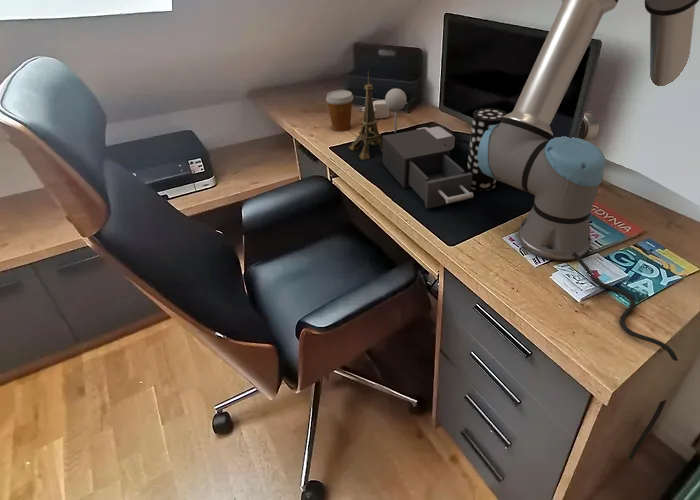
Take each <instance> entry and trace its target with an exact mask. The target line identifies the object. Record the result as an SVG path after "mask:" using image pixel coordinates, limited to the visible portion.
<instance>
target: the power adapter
mask: <svg viewBox="0 0 700 500" xmlns="http://www.w3.org/2000/svg"><path fill="white" fill-rule="evenodd" d="M373 108H374V114H375V120H377V119H387V118H389V117H390V109H389V108H388V107H387V106H386V103H385V99H380V100H373ZM364 110H365V106H359V107H358V112H359V113H362V112H363V113H364Z"/></svg>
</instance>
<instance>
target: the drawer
mask: <svg viewBox="0 0 700 500" xmlns="http://www.w3.org/2000/svg"><path fill="white" fill-rule="evenodd" d="M472 176H473V174H472V173H471V172H470V173H467V172H466V170H464V168H462V167H461V166H460V165H459V164H458V163H456V162H455V161H454V160H453V159H452V158H451V157H450V158H449V157H448V156H447V155H446V154H440V155H435V156H430V157H425V158H420V159H415V160H409V161H407V183H408V184H409V185H410V186H411V187H410V188H412V190H413V191H414V192H415V193H416V194H417V195H418V196H419V198H420V199H421V200H422V201H423V202H424V207H425V208H426V209H430V208H435V207H440V206H445V205H449V204H453V203H459V202H462V201H466V200H470V199H473V198H474V193H473V191H472V189H471V183H472Z"/></svg>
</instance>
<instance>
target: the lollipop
mask: <svg viewBox="0 0 700 500" xmlns="http://www.w3.org/2000/svg"><path fill="white" fill-rule="evenodd" d="M384 100H385V103H386V106H387V107H388V108H389V111H390V110H391V111H392V112H394V123H393V124H394V134H396V133H397V121H398V120H397V116H398V115H397V113H398V111H401V110H402V109H403V108H404V107H405V106H406V104H407V95H406V93H405V91H403V90H402V89H401V88H395V87H394V88H391V89H390V90H389V91H387V93H386V94H385V98H384Z"/></svg>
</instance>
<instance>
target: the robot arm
mask: <svg viewBox="0 0 700 500" xmlns="http://www.w3.org/2000/svg"><path fill="white" fill-rule="evenodd" d="M561 1H562V2H561V5H560V7H559V9H558V12H557V14H556V16H555V17H554V20H553V23H552V24H551V27H550V29H549V31H548V34H547V36H546V38H545V40H544V42H543V44H542V47H541V48H540V51H539V53H538V54H537V57H536V60H535V62H534V64H533V66H532V68H531V71H530V73H529V75H528V77H527V79H526V82H525V84H524V85H523V88H522V90H521V93H520V95H519V97H518V99H517V101H516V103H515V106H514V108H513V110H512V111H511V112H509V113H507V115H505V116H503V118H502V120H501V122H500V124H496V125H492V126H490V127H489V128H488V130H486V131H485V133H484V134H483V136H482V138H481V141H480V144H479V148H478V165H479V167H480V169H481V171H482V172H483V173H484V174H486V175H487V176H490V177H492V178H493V179H495V180H497V181H496V182H500V183H503V184H505V185H509V186H511V187H513V188H516V189H519V190H521V191H524V192H525V193H529V194H531V195H533V196H534V199H533V205H532V208H531V209H530V211H529V212H528V214H527V215H526V217H525V218H522V219H521V220H520V226H519V229H518V234H517V239H518V242H519V244H520V245H521V246H522V247H523V249H525V250H526V251H528V252H529V253H531V254H533V255H534V256H537V257H539V258H542V259H545V260H550V261H556V262H557V261H558V262H571V261H576V262H578V263H579V264H580V266H581V267H582V268H583V269H584V271H585V272H586V271H587V272H586V274H587V276H588V277H589V278H590V279H591V281H593V282H594V283H595V284H597V285H598V286H600V288H601V287H602V288H604V289H606V290H609V291H611V292H614V293H618V294H620V295H623V296H624V297H626V298H627V300H628V301H629V307H628V308H627V309H626V310H624V312H623V313H622V314H621V315H620V317H619V326H620V327H621V329H622V330H623V331H624V332H625V333H627V334H628V335H630V336H631V337H634V338H636V339H638V340H642V341H645V342H648V343H651V344H654V345H656V346H659V347H660V348H662V349H663V350H665V351H666V352H667V354H669V356H670V358H671V360H673V361H675V362H678V361H679V359H678V357H677V355H676V353H675V352H674V350H673V349H672V348H671V347H670V346H669V345H668V344H666V343H664V342H663V341H661V340H658V339H657V338H653V337H650V336H647V335H644V334H640V333H638V332H635V331H634V330H632V329H630V328H629V327H628V326H627V325H626V323H625V321H626V318H627V317H628V315H630V314H631V313H632V312H633V310H634V308H636V301H635V299H634V297H633V296H632V295H631V294H630V292H627V291H625V290H623V289H621V288H618V287H615V286H613V285H610V284H607V283H604V282H602V281H601V280H599V279H598V278H597V277H596V276H595V275H594V273H593V272H592V271H591V269H590V268H589V267H588V265H587V264H586V263H585V262H584V261H583V259H582V258H583V257H584V256H585V255H587V254H588V252H589V249H590V247H591V244H592V243H591V242H592V238H591V227H590V226H591V225H590V216H591V212H592V211H593V207H594V203H595V201H596V198H597V194H598V192H599V189H600V185H601V183H602V181H603V179H604V171H605V167H606V157H605V155H604V153H603V151H602V150H601V149H600V148H599V147H598V146H597V145H595V144H593V143H592V142H590V141H587V140H592V139H591V138H593V137H595V136H596V135H597V133H598V131H599V123H598V121H597V119H596V118H595V117H594V116H593V115H592V114H590V113H587V112H588V111H585V112H586V113H585V112H584V113H585V114H584V118H583V121H582V124H581V128H580V132H579V135H578V138H575V137H572V138H569V137H567V136H561V137H555V136H554V138H553V139H551V138H552V136H553V132H552V130H551V127H550V124H551V123H553V120H554V118H555V115H556V113H557V112H558V109H559V107H560V105H561V103H562V102H563V101H562V100H563V98H565V95H566V93H567V91H568V89H569V87H570V84H571V82H572V80H573V78H574V76H575V74H576V72H577V70H578V68H579V65H580V64H581V61H582V59H583V57H584V55H585V53H586V51H587V49H588V47H589V45H590V43H591V41H592V39H593V37H594V35H595V32H596V30H597V29H598V26H599V25H600V22H601V20H602V18H603V16H604V15H605V14H608V13H609V12H611V11H613V10H614V9H616V7H617V4H618V3H619V0H561ZM699 2H700V0H644V9H645V11H646V12H647V13H648V14H650V17H649V18H650V20H649V23H650V24H649V25H650V26H649V27H650V28H649V31H650V33H649V36H650V37H649V40H650V41H649V52H650V53H649V78H650V77H651V80H652V82H653V83H654V84H655V85H657V86H665V85H667V84H669V83H671V82H673V81H674V80H675V79H676V78H677V77H678V76H679V75H680V73H681V72H682V71H683V69H684V67H685V66H686V64H687V61H688V58H689V59H690V57H689V55H690V56H691V47H692V38H693V30H694V29H693V27H694V21H695V20H694V19H695V12H696V11H695V10H696V5H697V4H698V3H699ZM593 139H594V138H593ZM589 274H590V275H591V276H590V275H589ZM593 275H594V276H595V278H596V279H595V278H593V277H594V276H593ZM592 276H593V277H592ZM667 400H668V399H664V400H661V401H659V403H658V405H657V408H656V410H655V411H654V413H653V416H652V418H651V419H650V421H649V423H647V426H646V427H645V429H644V431H643V432H642V433H641V435H640V437H639V438H638V440H637V441H636V443H635V445H634V447H633V448H632V450H631V451H630V454H629V455H628V458H629V460H633V459H634V458H635V456H636V455H637V452H638V451H639V449H640V447H641V446H642V444H644V441H645V440H646V439H647V437H648V435H649V434H650V432H651V431H652V430H653V428H654V427H655V425H656V423H657V422H658V419H659V418H660V416H661V414H662V412H663V409H664V408H665V405H666V403H667Z"/></svg>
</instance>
